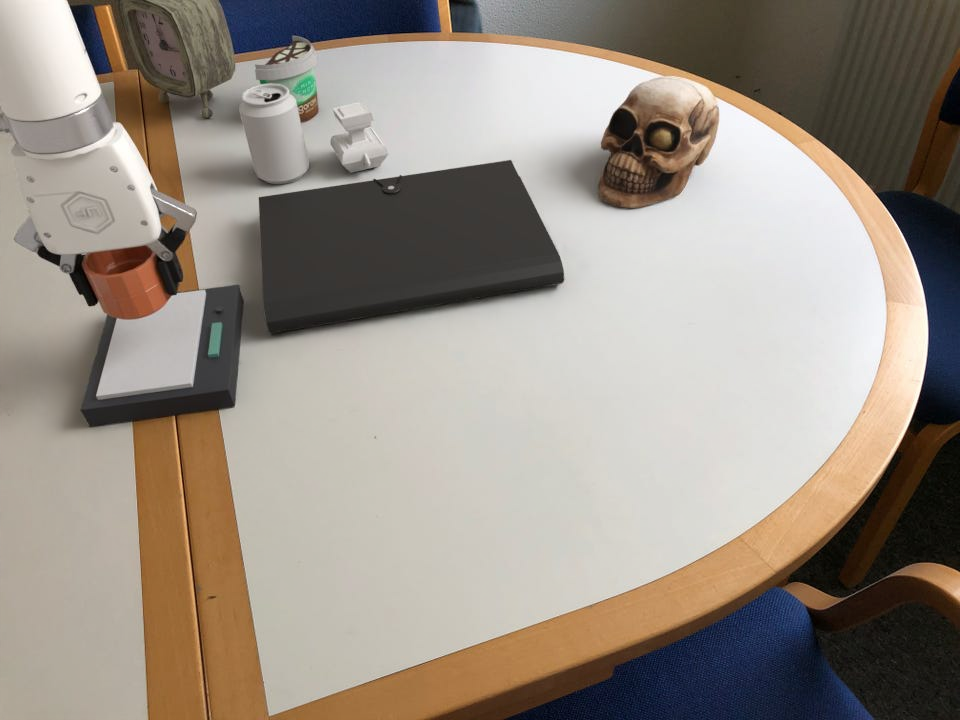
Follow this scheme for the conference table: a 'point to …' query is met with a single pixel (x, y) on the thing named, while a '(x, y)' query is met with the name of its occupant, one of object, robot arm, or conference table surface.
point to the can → (274, 133)
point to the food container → (294, 75)
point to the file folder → (401, 245)
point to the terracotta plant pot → (126, 282)
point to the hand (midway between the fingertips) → (135, 291)
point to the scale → (168, 359)
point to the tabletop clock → (180, 45)
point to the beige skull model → (657, 141)
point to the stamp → (357, 139)
